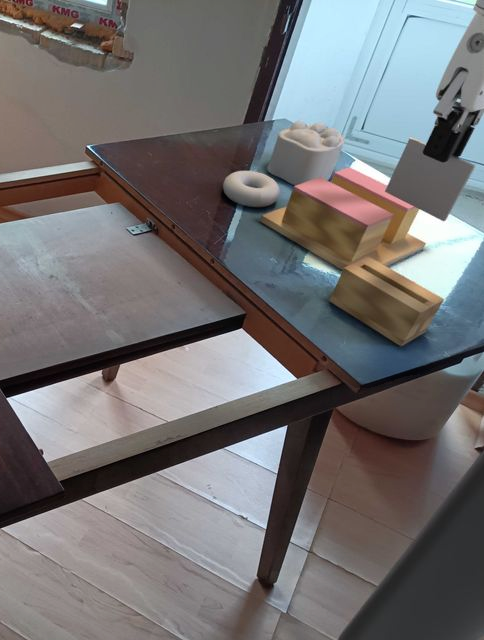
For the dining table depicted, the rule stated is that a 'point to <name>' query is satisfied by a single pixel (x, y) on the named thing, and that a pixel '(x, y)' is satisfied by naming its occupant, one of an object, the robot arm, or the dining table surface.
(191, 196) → the dining table surface
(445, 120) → the robot arm
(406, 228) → the cake slice
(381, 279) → the knife block
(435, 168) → the flat grey rectangular blade
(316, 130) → the lumpy-topped squat cylinder
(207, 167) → the dining table surface
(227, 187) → the donut
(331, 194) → the cake
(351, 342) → the dining table surface
